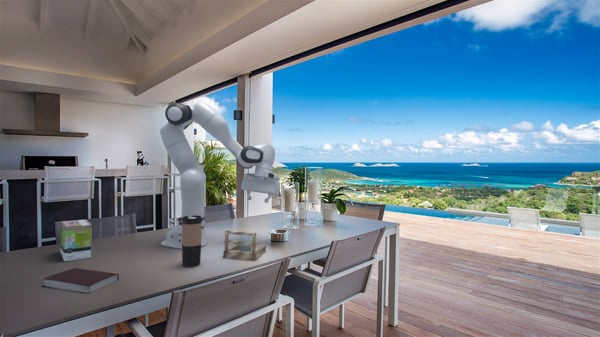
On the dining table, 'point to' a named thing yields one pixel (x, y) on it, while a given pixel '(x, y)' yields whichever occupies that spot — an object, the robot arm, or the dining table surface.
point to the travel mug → (191, 241)
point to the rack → (234, 249)
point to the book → (80, 280)
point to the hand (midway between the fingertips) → (257, 201)
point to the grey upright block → (245, 239)
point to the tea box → (75, 240)
